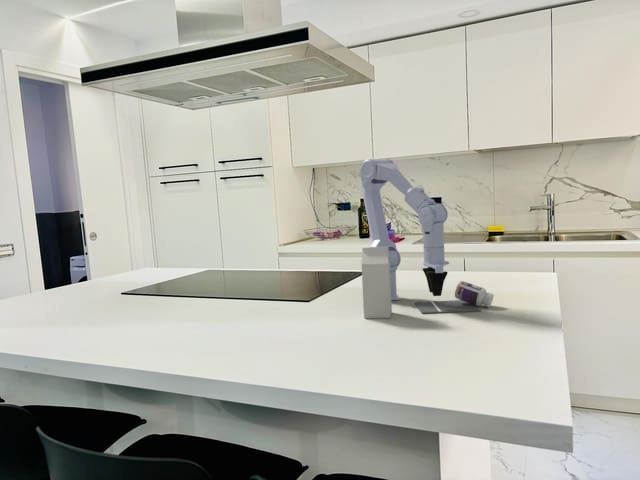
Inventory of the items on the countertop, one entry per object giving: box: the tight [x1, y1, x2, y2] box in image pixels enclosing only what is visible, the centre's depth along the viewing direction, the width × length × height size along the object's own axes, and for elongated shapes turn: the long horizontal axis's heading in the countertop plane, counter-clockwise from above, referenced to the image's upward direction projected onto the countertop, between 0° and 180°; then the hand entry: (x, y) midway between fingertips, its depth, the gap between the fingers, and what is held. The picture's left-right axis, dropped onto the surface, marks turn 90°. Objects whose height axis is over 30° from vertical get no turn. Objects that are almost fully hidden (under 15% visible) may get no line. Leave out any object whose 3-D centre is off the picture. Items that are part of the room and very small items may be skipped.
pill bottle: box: [454, 280, 494, 308], centre depth 142 cm, size 5×5×10 cm
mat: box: [414, 299, 482, 315], centre depth 142 cm, size 16×13×1 cm
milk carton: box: [361, 247, 393, 319], centre depth 136 cm, size 7×7×19 cm
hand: (435, 293), depth 142 cm, fingers open, 4 cm apart
